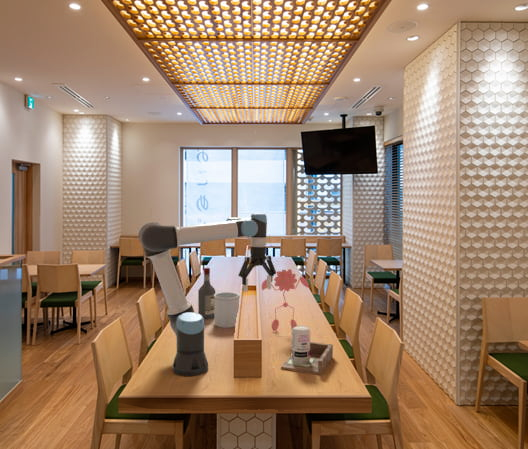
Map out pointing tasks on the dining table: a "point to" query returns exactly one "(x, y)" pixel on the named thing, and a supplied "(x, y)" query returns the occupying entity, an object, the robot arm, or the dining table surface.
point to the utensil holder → (226, 309)
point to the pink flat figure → (287, 283)
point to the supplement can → (300, 345)
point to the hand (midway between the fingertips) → (257, 290)
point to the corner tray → (313, 359)
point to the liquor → (206, 297)
